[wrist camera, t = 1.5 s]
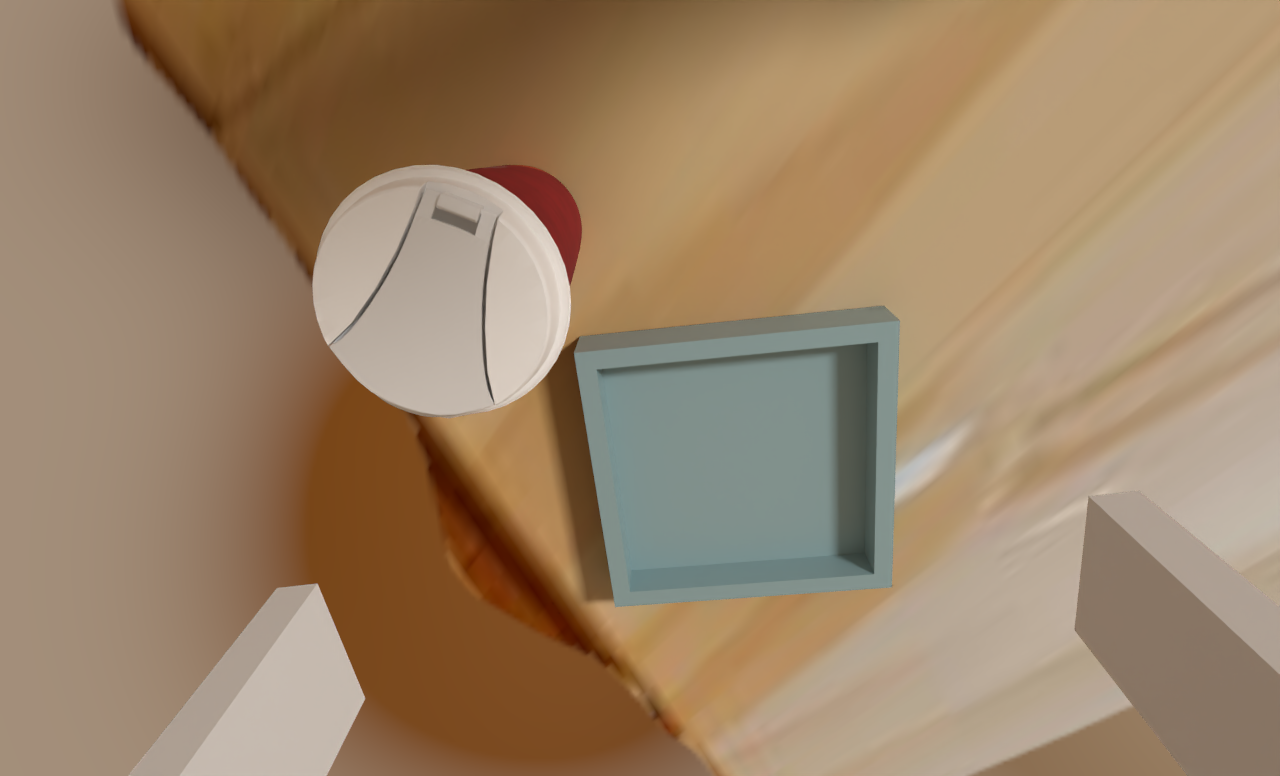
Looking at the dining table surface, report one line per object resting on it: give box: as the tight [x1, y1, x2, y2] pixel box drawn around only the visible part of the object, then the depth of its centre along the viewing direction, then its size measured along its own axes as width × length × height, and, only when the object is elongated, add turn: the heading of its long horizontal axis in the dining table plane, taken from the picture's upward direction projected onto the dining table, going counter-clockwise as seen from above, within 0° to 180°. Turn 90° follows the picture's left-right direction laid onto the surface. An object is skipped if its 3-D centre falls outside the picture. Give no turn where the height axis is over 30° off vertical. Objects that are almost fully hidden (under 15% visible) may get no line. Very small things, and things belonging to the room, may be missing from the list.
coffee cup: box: [312, 165, 582, 418], centre depth 28 cm, size 8×8×15 cm
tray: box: [574, 306, 900, 607], centre depth 38 cm, size 16×16×3 cm
